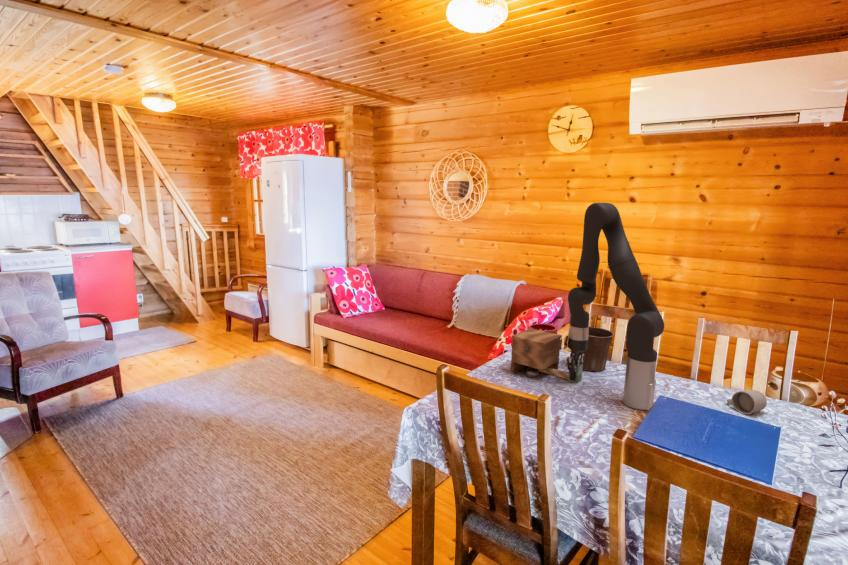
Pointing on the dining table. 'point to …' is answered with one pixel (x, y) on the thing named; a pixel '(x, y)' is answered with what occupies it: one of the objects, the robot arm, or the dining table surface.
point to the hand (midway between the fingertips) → (574, 378)
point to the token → (532, 373)
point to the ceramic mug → (748, 401)
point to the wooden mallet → (564, 373)
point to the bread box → (535, 350)
